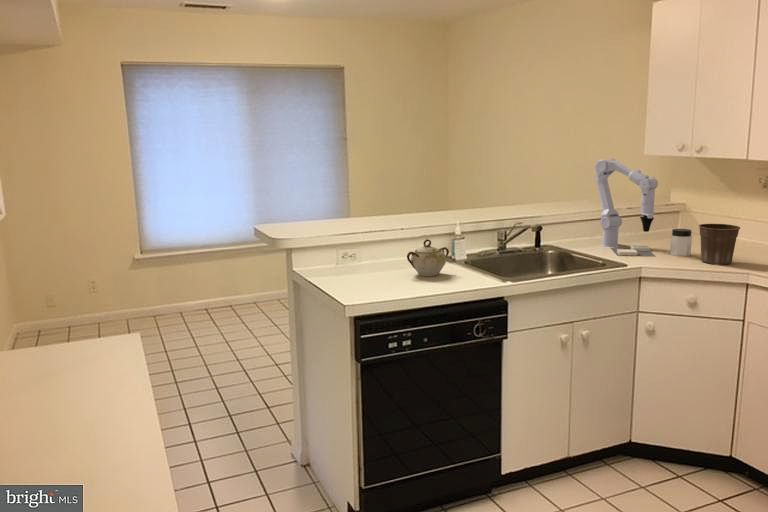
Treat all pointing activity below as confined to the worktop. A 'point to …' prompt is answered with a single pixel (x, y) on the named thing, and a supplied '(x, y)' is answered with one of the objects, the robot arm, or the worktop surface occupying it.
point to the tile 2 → (640, 248)
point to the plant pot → (718, 243)
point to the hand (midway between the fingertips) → (646, 231)
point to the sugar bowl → (428, 259)
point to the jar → (681, 242)
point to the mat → (640, 253)
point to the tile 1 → (627, 252)
